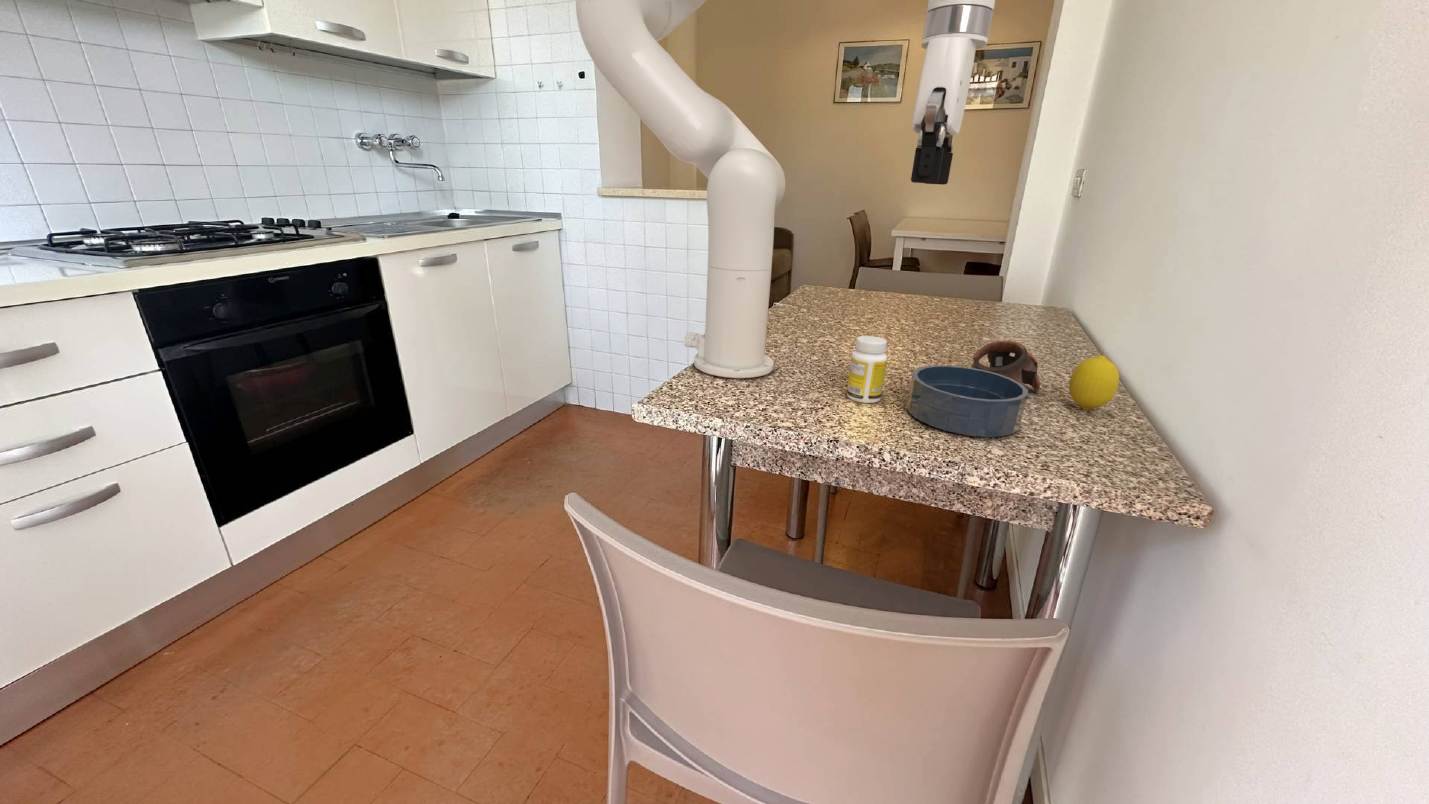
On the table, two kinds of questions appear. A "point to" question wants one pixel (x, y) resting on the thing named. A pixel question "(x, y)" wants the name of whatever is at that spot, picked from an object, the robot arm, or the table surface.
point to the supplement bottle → (867, 369)
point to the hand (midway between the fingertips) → (929, 183)
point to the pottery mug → (1009, 362)
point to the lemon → (1094, 382)
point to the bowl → (966, 400)
